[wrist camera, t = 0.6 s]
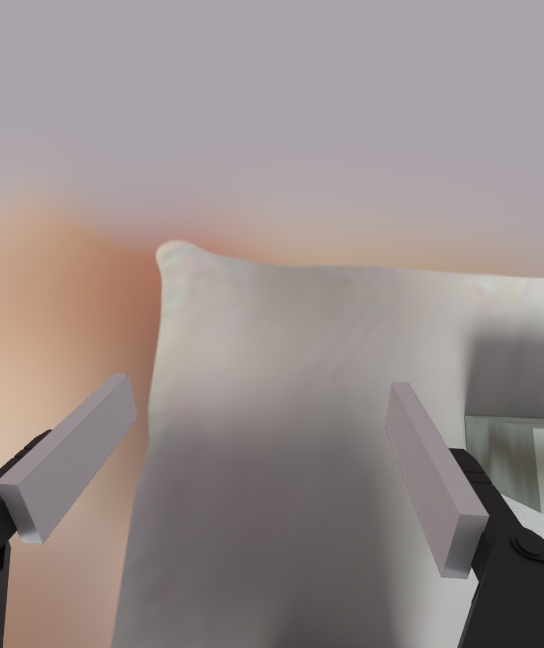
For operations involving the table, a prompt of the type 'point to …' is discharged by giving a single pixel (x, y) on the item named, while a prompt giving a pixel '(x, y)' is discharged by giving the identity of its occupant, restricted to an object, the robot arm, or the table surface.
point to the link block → (510, 455)
